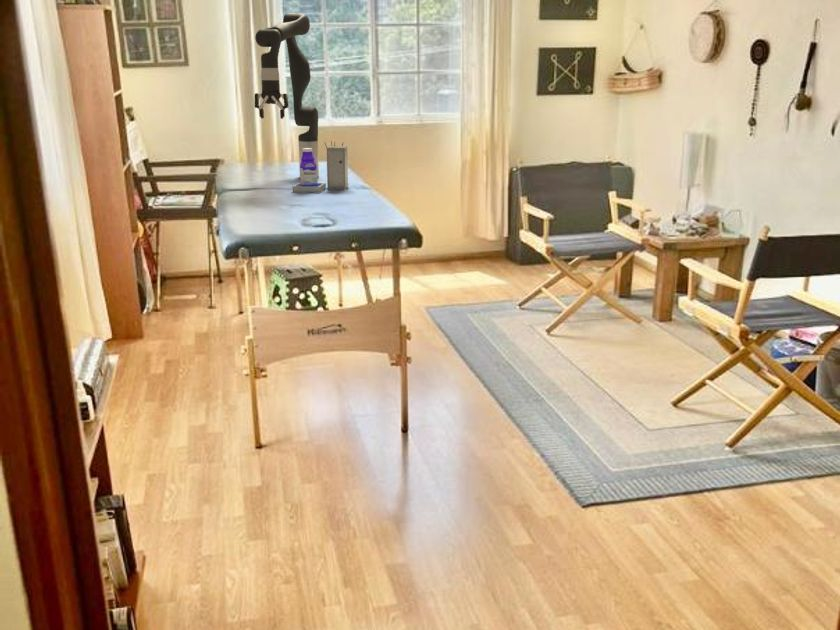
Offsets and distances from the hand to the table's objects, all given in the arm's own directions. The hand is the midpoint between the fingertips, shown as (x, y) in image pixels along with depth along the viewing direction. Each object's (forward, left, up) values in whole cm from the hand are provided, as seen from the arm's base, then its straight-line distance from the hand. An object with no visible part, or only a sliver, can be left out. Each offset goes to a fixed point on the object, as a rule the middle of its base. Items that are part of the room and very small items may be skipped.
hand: (272, 118), depth 346 cm
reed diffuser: (-13, +25, -30) cm, 41 cm away
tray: (+3, +16, -30) cm, 34 cm away
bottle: (+3, +16, -30) cm, 34 cm away
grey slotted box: (-5, +27, -30) cm, 41 cm away
